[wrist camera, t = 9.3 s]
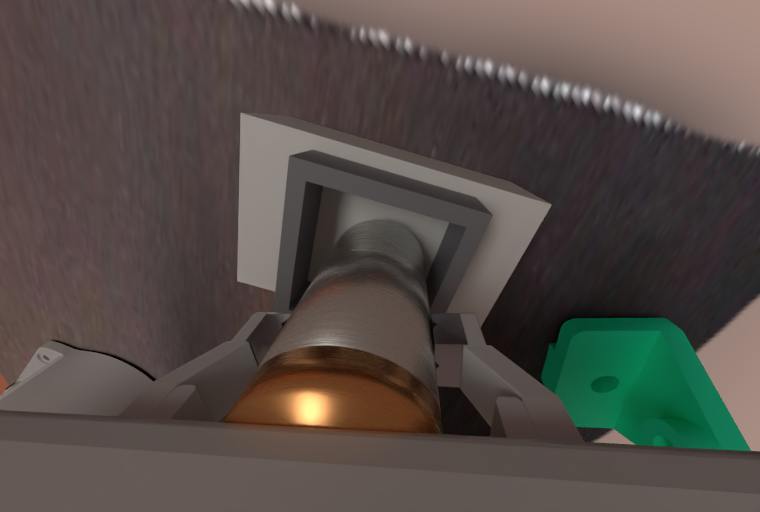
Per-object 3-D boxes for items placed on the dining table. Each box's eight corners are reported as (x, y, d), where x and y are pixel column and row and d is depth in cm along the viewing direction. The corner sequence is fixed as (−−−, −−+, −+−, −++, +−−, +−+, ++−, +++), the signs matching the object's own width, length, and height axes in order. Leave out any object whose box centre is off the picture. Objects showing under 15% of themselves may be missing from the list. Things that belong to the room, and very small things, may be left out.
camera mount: (556, 310, 23) (654, 431, 14) (654, 309, 22) (826, 438, 13) (533, 400, 28) (593, 532, 19) (611, 403, 28) (714, 542, 18)
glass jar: (382, 314, 16) (350, 546, 7) (316, 264, 15) (181, 463, 6) (443, 261, 14) (501, 486, 5) (372, 199, 13) (294, 351, 4)
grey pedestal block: (510, 181, 19) (588, 224, 11) (456, 294, 23) (481, 383, 15) (289, 116, 18) (196, 109, 10) (277, 244, 23) (206, 309, 15)
